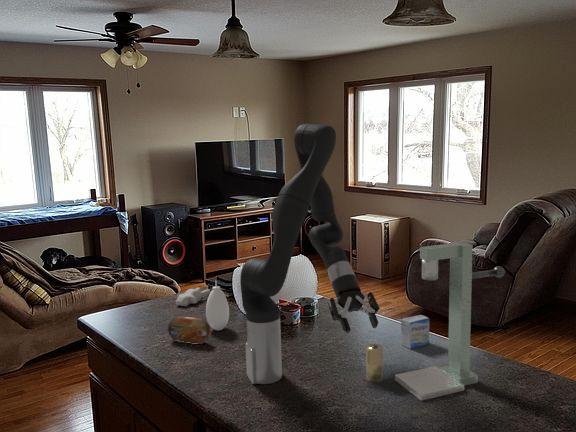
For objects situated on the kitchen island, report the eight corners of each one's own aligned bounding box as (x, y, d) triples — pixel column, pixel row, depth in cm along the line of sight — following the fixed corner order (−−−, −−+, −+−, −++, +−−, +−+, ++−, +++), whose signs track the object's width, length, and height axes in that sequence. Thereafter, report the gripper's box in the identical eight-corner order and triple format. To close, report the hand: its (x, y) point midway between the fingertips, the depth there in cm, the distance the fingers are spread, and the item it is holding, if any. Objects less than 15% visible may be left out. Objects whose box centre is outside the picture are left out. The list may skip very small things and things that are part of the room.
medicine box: (409, 349, 158) (410, 322, 157) (400, 344, 162) (400, 318, 161) (429, 344, 162) (429, 317, 160) (419, 339, 166) (420, 313, 164)
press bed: (421, 400, 128) (422, 255, 122) (394, 380, 139) (395, 245, 133) (516, 377, 138) (521, 242, 132) (484, 360, 149) (488, 234, 143)
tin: (168, 341, 171) (166, 316, 170) (173, 337, 174) (172, 313, 172) (207, 346, 165) (206, 321, 164) (212, 343, 168) (211, 318, 167)
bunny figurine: (169, 296, 207) (195, 282, 219) (171, 307, 208) (196, 293, 220) (187, 299, 202) (212, 285, 214) (189, 311, 203) (213, 296, 215)
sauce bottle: (234, 327, 181) (231, 278, 178) (219, 335, 174) (217, 283, 172) (217, 324, 185) (214, 275, 182) (202, 331, 179) (199, 280, 176)
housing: (371, 383, 137) (371, 350, 136) (363, 376, 141) (363, 344, 140) (386, 380, 139) (386, 347, 137) (377, 373, 143) (377, 341, 142)
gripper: (325, 276, 148) (343, 327, 139) (368, 270, 153) (389, 319, 144) (318, 289, 154) (335, 339, 145) (360, 283, 159) (379, 331, 150)
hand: (362, 329), depth 145 cm, fingers open, 8 cm apart
